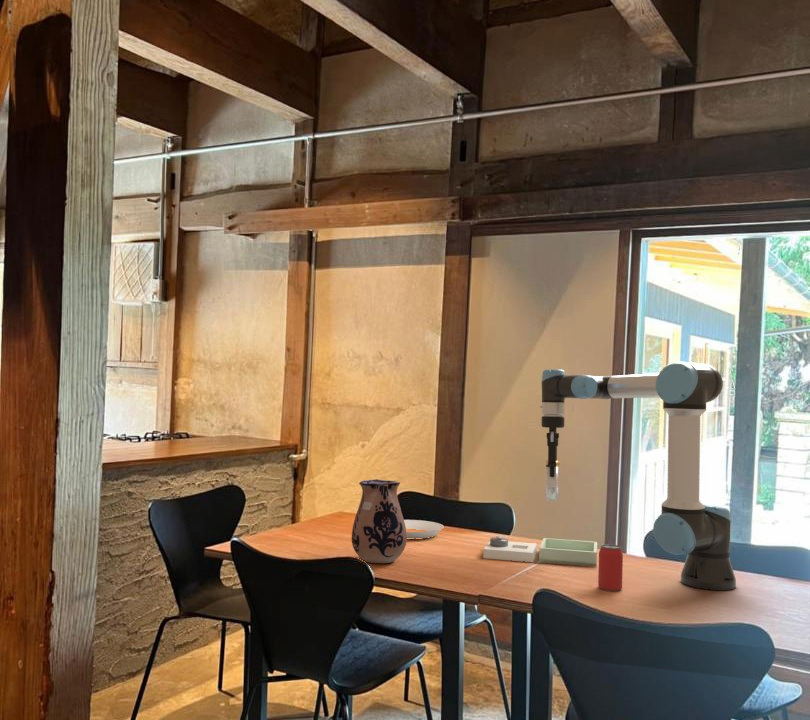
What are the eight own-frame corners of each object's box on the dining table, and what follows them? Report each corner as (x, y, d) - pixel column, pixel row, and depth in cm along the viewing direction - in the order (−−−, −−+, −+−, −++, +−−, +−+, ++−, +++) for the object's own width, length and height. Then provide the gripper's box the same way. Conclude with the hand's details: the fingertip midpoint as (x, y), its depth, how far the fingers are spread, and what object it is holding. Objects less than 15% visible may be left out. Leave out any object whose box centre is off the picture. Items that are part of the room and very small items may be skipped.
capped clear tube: (557, 501, 261) (558, 461, 261) (545, 500, 261) (546, 461, 262) (558, 499, 264) (558, 460, 265) (546, 498, 265) (546, 460, 266)
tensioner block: (532, 562, 255) (533, 544, 255) (483, 558, 259) (483, 540, 259) (536, 552, 271) (537, 535, 271) (490, 548, 275) (490, 531, 275)
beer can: (605, 592, 220) (606, 549, 220) (593, 586, 226) (594, 544, 227) (626, 591, 222) (627, 548, 222) (614, 585, 228) (614, 543, 228)
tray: (596, 566, 251) (596, 552, 251) (539, 562, 256) (539, 548, 256) (596, 555, 269) (597, 541, 269) (543, 551, 273) (543, 537, 273)
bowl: (410, 526, 314) (410, 517, 314) (457, 536, 296) (457, 526, 296) (363, 533, 296) (363, 524, 296) (410, 544, 278) (410, 534, 278)
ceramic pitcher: (361, 569, 239) (363, 486, 240) (340, 554, 259) (342, 477, 260) (414, 565, 246) (417, 484, 247) (390, 551, 265) (392, 476, 266)
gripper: (542, 414, 273) (542, 483, 272) (540, 416, 257) (539, 488, 256) (565, 415, 272) (564, 483, 271) (563, 416, 255) (563, 489, 254)
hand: (552, 485), depth 263 cm, fingers closed on capped clear tube, 4 cm apart
